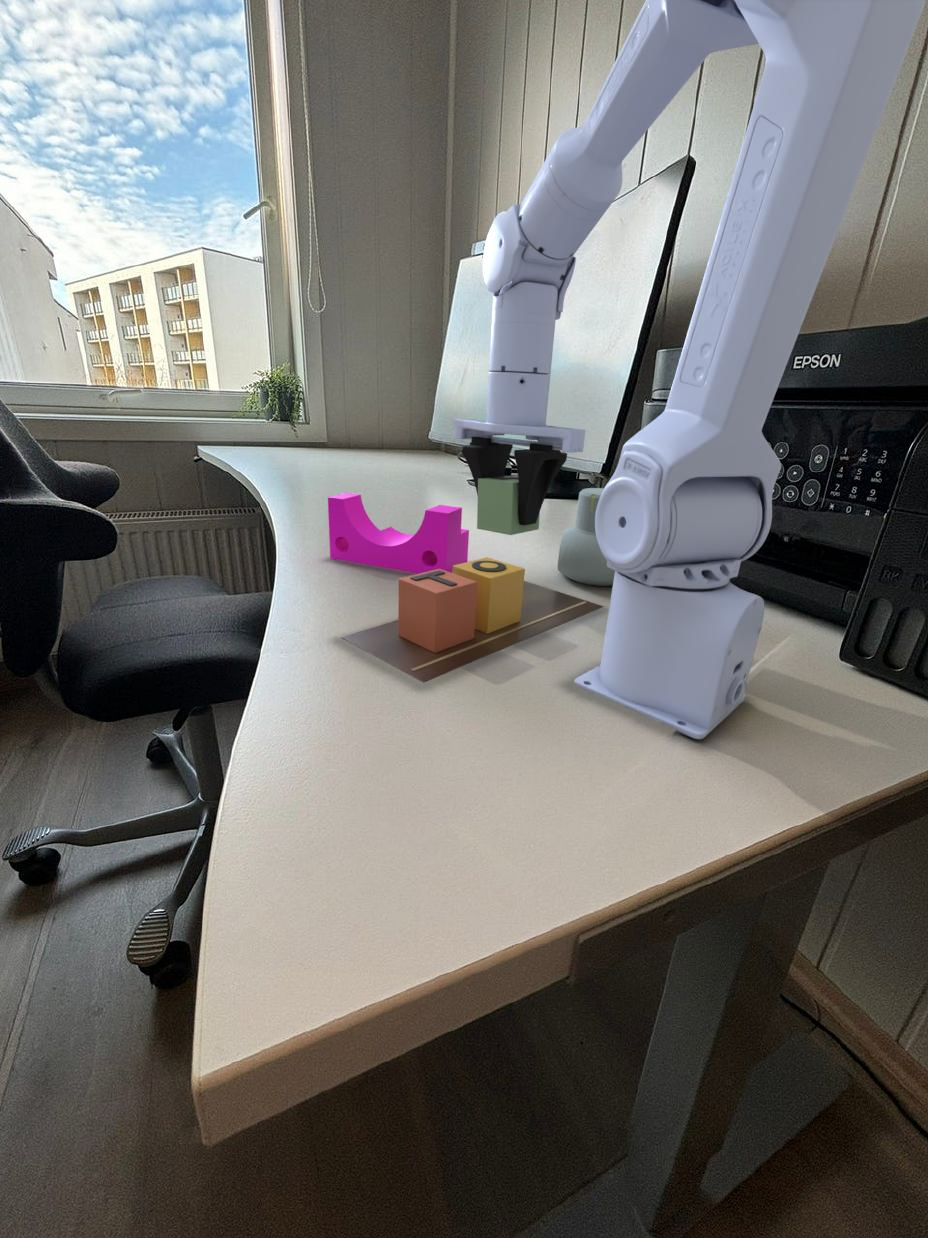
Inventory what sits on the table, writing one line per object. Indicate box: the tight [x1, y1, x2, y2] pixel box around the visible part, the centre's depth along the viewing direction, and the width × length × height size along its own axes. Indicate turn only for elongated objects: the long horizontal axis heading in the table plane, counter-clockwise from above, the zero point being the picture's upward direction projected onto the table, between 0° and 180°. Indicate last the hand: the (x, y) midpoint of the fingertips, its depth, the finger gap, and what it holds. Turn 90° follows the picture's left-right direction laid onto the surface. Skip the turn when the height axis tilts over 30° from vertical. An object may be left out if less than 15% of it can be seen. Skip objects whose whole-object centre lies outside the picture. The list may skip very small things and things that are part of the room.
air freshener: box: [557, 487, 615, 587], centre depth 63 cm, size 11×8×10 cm
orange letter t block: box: [397, 569, 477, 653], centre depth 46 cm, size 4×4×5 cm
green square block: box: [476, 475, 541, 536], centre depth 57 cm, size 4×4×5 cm
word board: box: [341, 580, 604, 683], centre depth 51 cm, size 10×24×1 cm, turn 136°
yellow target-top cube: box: [452, 556, 526, 634], centre depth 50 cm, size 4×4×5 cm
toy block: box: [327, 492, 470, 574], centre depth 66 cm, size 15×6×8 cm, turn 68°
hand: (508, 519), depth 57 cm, fingers closed on green square block, 4 cm apart
